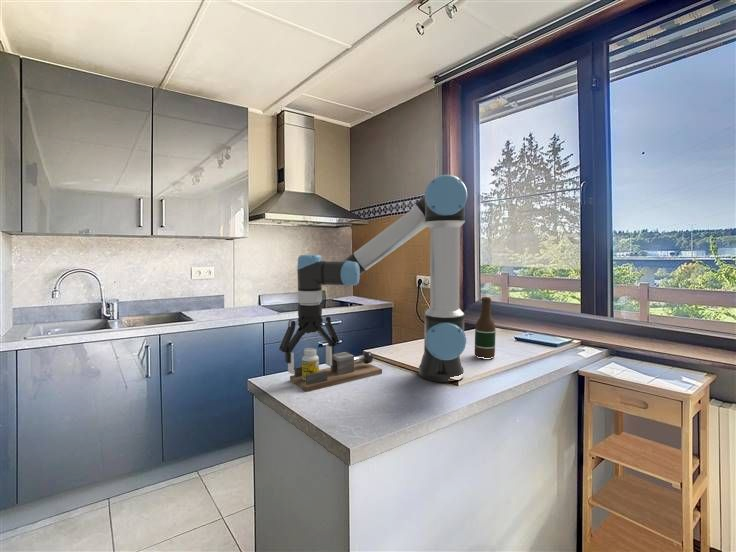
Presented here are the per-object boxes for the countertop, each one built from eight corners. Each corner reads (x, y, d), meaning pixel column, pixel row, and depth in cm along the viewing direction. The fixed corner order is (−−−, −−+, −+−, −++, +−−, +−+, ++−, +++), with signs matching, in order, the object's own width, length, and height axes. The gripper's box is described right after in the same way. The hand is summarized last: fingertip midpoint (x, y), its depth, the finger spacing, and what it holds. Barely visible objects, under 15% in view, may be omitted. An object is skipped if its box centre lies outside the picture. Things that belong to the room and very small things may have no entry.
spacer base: (382, 373, 135) (382, 353, 134) (306, 391, 118) (306, 368, 117) (362, 364, 145) (362, 345, 144) (289, 380, 128) (289, 359, 127)
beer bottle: (495, 360, 150) (497, 299, 148) (475, 359, 152) (476, 298, 150) (493, 354, 158) (495, 296, 156) (473, 353, 159) (475, 295, 157)
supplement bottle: (321, 376, 127) (321, 348, 126) (314, 382, 122) (314, 352, 121) (306, 375, 129) (306, 346, 128) (299, 380, 123) (298, 350, 123)
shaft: (372, 364, 137) (372, 352, 137) (340, 371, 130) (340, 359, 129) (366, 361, 140) (366, 350, 140) (334, 368, 133) (334, 356, 132)
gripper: (337, 298, 134) (337, 359, 135) (267, 305, 119) (269, 372, 121) (349, 301, 127) (349, 364, 129) (277, 308, 113) (278, 379, 115)
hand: (310, 368), depth 125 cm, fingers open, 13 cm apart
